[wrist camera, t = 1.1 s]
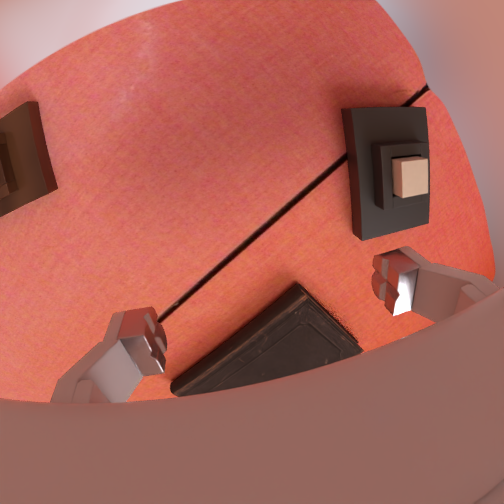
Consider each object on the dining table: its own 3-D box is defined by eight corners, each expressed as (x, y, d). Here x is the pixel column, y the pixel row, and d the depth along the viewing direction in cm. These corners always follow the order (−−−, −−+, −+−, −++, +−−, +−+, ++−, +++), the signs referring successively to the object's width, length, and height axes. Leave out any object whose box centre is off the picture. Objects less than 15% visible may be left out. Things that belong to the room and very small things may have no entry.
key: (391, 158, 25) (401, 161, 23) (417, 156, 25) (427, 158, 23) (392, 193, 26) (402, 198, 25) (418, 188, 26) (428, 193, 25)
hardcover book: (357, 341, 39) (364, 351, 37) (246, 417, 44) (247, 427, 41) (295, 280, 33) (301, 291, 31) (170, 380, 37) (169, 392, 35)
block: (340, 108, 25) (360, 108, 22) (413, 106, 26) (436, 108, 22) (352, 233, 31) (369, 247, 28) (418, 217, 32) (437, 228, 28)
